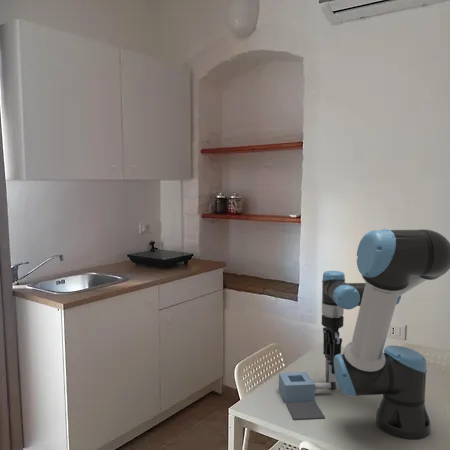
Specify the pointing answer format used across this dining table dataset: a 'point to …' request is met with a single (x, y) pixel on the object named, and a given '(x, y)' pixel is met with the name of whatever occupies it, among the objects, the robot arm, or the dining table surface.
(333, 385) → the bottle
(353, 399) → the dining table surface
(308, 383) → the block
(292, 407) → the mat
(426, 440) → the dining table surface
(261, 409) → the dining table surface
